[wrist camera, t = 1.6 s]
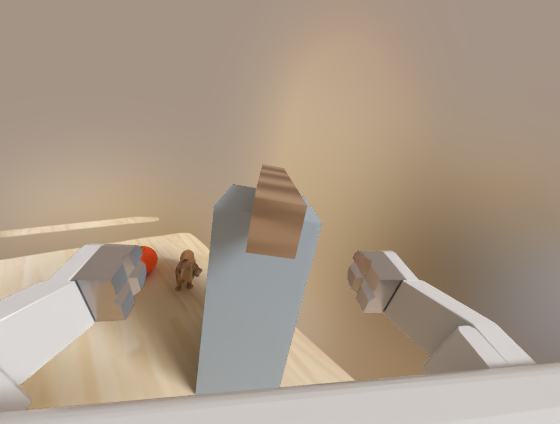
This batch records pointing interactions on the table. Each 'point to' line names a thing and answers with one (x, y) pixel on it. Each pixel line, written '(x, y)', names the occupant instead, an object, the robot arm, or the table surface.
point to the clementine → (148, 258)
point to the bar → (276, 215)
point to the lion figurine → (186, 269)
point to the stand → (249, 301)
